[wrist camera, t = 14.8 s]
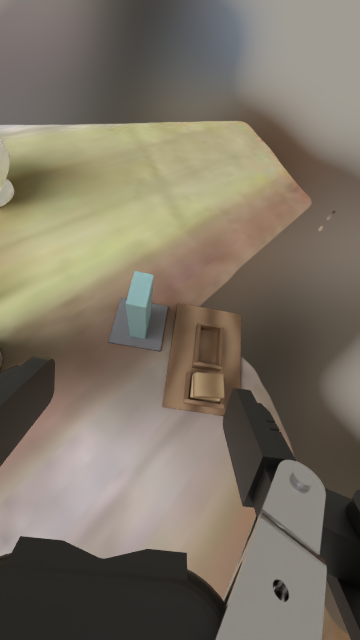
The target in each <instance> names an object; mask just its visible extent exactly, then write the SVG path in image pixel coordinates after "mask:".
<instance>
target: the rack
mask: <svg viewBox="0 0 360 640" xmlns="http://www.w3.org/2000/svg"><path fill="white" fill-rule="evenodd" d="M240 369H241V315H240V314H235V313H230V312H224V311H218V310H213V309H208V308H202V307H197V306H192V305H186V304H181V303H178V305H177V312H176V318H175V325H174V332H173V338H172V345H171V352H170V358H169V365H168V371H167V378H166V385H165V391H164V398H163V405H162V407H167V408H174V409H181V410H187V411H194V412H201V413H208V414H214V415H221V416H224V413H225V410H226V407H227V404H228V400H229V397H230V394H231V391H232V389H233V388H238V389H240ZM196 372H198V373H212V374H223V380H224V398H222V399H220V401H219V402H210V401H204V400H197V399H191V398H189V395H190V385H191V376H192V375H193V374H195V373H196Z"/></svg>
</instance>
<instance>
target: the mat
mask: <svg viewBox="0 0 360 640" xmlns="http://www.w3.org/2000/svg"><path fill="white" fill-rule="evenodd" d="M126 300H127V299H126V298H121V299H120V303H119V306H118V310H117V313H116V317H115V321H114V324H113V328H112V331H111V335H110V338H109V343H114V344H120V345H126V346H132V347H138V348H143V349H149V350H155V351H160V350H161V344H162V338H163V332H164V326H165V321H166V315H167V309H168V306H164V305H158V304H153V303H152V305H151V315H150V319H149V324H148V328H147V333H146V337H145V339H142V338H136V337H131V336H130V334H129V326H128V318H127V311H126Z"/></svg>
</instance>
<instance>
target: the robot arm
mask: <svg viewBox="0 0 360 640" xmlns="http://www.w3.org/2000/svg"><path fill="white" fill-rule="evenodd" d="M1 365H2V353H1V351H0V368H1ZM54 377H55V362H54V360H53V359H50V358H44V357H38V356H33V357H32V358H30V359H29V360H28V361H27V362H25V363H24V364H23V365H22V366H15V367H13V368H10V369H8V370H5V371H3V372H2V373H1V374H0V466H1V465H2V464H3V462H4V461H5V460H6V458H7V457H8V456H9V455H10V453H11V452H12V451H13V449H14V448H15V447H16V446H17V444H18V443H19V442H20V440H21V439H22V438H23V437H24V435H25V434H26V433H27V431H28V430H29V429H30V428H31V426H32V425H33V424H34V422H35V421H36V420H37V419H38V417H39V416H40V415H41V413H42V412H43V411H44V410H45V408H46V407H47V406H48V404H49V403H50V401H51V399H52V397H53V393H54ZM223 429H224V433H225V437H226V441H227V445H228V449H229V453H230V457H231V461H232V465H233V469H234V473H235V477H236V481H237V485H238V489H239V493H240V497H241V501H242V505H243V506H245V507H254V509H255V512H256V517H255V520H254V522H253V525H252V527H251V530H250V532H249V535H248V538H247V540H246V543H245V545H244V548H243V550H242V553H241V556H240V558H239V561H238V563H237V566H236V568H235V571H234V574H233V576H232V579H231V581H230V583H229V586H228V588H227V591H226V593H225V595H224V598H223V600H222V598H221V597H220V596H219V594H218V593H217V592H216V591H215V590H214V589H213V588H212V587H211V586H210V585H209V584H208V583H207V582H206V581H205V580H204V579H202V578H201V577H200V576H198V575H197V574H195V573H194V572H192V571H190V570H188V569H187V553H182V552H172V551H162V550H152V549H145V550H141V551H137V552H132V553H128V554H124V555H119V556H115V557H111V558H106V559H102V558H98V557H96V556H94V555H92V554H90V553H88V552H86V551H84V550H82V549H79V548H77V547H75V546H73V545H71V544H69V543H67V542H65V541H62V540H52V539H42V538H32V537H22V536H20V538H19V540H18V542H17V544H16V546H15V548H14V549H13V551H12V553H10V554H6V555H3V556H0V640H322V627H323V614H324V600H325V588H326V579H327V581H328V583H329V586H330V589H331V591H332V594H333V596H334V599H335V601H336V604H337V606H338V609H339V611H340V613H341V616H342V618H343V621H344V623H345V626H346V628H347V631H348V633H349V636H350V638H351V640H360V490H357V491H356V492H355V493H354V495H353V496H352V498H351V499H349V498H347V497H344V496H342V495H340V494H337V493H335V492H333V491H330V490H328V489H326V488H324V486H323V484H322V482H321V481H320V479H319V478H318V477H317V476H316V475H315V474H314V473H313V472H312V471H311V470H310V469H309V468H307V467H306V466H304V465H303V464H301V463H299V462H297V461H296V460H295V458H294V456H293V454H292V452H291V450H290V449H289V447H288V445H287V443H286V441H285V439H284V438H283V436H282V434H281V432H279V428H278V426H277V425H276V424H275V421H274V419H273V417H272V415H271V414H270V412H269V411H268V410H267V409H266V408H265V407H264V406H263V405H262V404H261V403H257V402H256V400H255V398H254V396H253V394H252V392H251V391H250V390H244V389H238V388H233V389H232V391H231V394H230V397H229V400H228V404H227V407H226V410H225V413H224V418H223Z"/></svg>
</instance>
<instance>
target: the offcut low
mask: <svg viewBox="0 0 360 640" xmlns="http://www.w3.org/2000/svg"><path fill="white" fill-rule="evenodd" d="M193 375H194V374H193ZM193 375H192V376H191V385H190V395H189V398H191V399H197V400H204V401H210V402H219V401H220V399H210V398H193Z"/></svg>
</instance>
